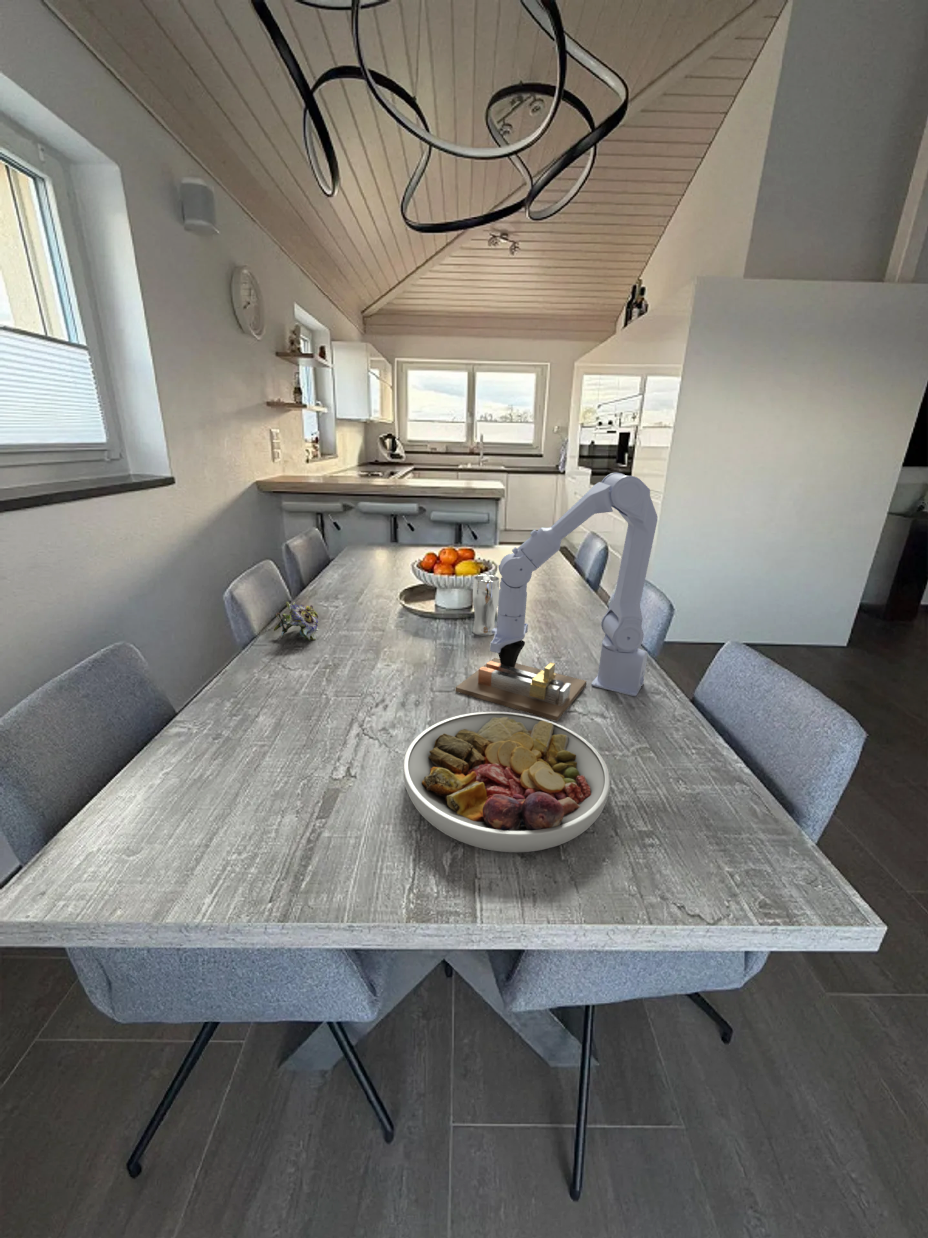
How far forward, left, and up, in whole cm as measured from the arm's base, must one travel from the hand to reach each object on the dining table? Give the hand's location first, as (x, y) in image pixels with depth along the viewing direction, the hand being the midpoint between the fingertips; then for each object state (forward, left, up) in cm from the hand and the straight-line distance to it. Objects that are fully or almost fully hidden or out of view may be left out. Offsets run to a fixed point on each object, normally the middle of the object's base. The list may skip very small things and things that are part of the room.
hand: (507, 672), depth 113 cm
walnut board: (-4, +1, -2) cm, 5 cm away
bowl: (-15, +33, -3) cm, 37 cm away
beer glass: (+18, -24, -2) cm, 30 cm away
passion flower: (+55, +7, -2) cm, 55 cm away
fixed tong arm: (-5, +4, -1) cm, 7 cm away
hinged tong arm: (-5, +2, -1) cm, 5 cm away
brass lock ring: (-10, +4, 0) cm, 10 cm away
